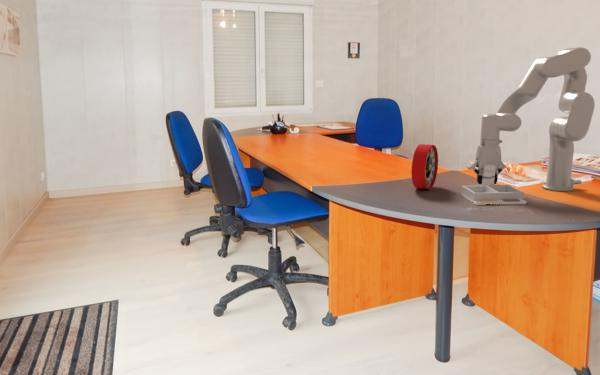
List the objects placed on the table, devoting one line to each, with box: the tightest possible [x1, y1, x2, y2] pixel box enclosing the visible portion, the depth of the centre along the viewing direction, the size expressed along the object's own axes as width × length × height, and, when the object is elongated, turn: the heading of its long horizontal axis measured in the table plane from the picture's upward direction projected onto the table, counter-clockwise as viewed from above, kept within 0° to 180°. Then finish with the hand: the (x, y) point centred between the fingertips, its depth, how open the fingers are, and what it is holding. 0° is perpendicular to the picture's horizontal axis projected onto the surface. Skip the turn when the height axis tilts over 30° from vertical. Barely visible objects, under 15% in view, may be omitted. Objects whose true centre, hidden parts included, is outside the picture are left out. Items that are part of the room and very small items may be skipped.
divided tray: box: [461, 184, 527, 206], centre depth 203 cm, size 20×17×4 cm
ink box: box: [479, 165, 496, 185], centre depth 218 cm, size 9×5×12 cm, turn 169°
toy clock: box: [410, 143, 439, 190], centre depth 222 cm, size 20×6×20 cm, turn 149°
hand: (486, 183), depth 219 cm, fingers closed on ink box, 5 cm apart
